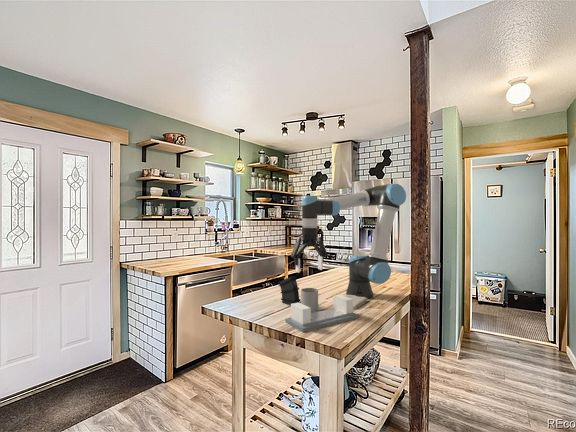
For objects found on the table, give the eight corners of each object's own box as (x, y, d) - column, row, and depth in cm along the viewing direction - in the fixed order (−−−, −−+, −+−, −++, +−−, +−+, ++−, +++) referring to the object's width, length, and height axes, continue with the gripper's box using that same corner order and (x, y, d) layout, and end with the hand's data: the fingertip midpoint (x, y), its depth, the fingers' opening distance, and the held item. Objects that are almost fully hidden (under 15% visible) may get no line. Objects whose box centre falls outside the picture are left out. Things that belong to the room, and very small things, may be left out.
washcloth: (368, 301, 162) (368, 296, 162) (355, 310, 148) (355, 304, 148) (347, 298, 169) (347, 292, 169) (333, 306, 154) (333, 300, 154)
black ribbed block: (298, 305, 148) (290, 276, 153) (283, 311, 157) (276, 283, 162) (304, 304, 151) (295, 275, 156) (289, 309, 160) (281, 282, 165)
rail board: (339, 310, 147) (339, 307, 147) (358, 317, 136) (358, 314, 136) (285, 322, 131) (285, 318, 130) (302, 332, 119) (302, 328, 119)
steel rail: (339, 308, 144) (339, 307, 144) (353, 313, 137) (353, 312, 137) (290, 319, 130) (290, 317, 130) (302, 326, 122) (302, 324, 122)
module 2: (339, 307, 144) (339, 294, 144) (353, 312, 137) (353, 299, 137) (333, 308, 142) (333, 295, 142) (346, 313, 135) (346, 300, 135)
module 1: (298, 316, 132) (298, 302, 132) (310, 322, 124) (310, 307, 124) (290, 317, 130) (290, 303, 130) (302, 324, 122) (302, 309, 122)
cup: (321, 310, 147) (321, 289, 147) (311, 314, 141) (311, 293, 141) (308, 306, 153) (308, 287, 152) (297, 310, 147) (297, 290, 146)
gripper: (324, 226, 156) (324, 267, 156) (283, 227, 143) (283, 271, 143) (334, 227, 150) (333, 269, 150) (292, 228, 137) (292, 274, 137)
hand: (309, 270), depth 146 cm, fingers open, 13 cm apart
